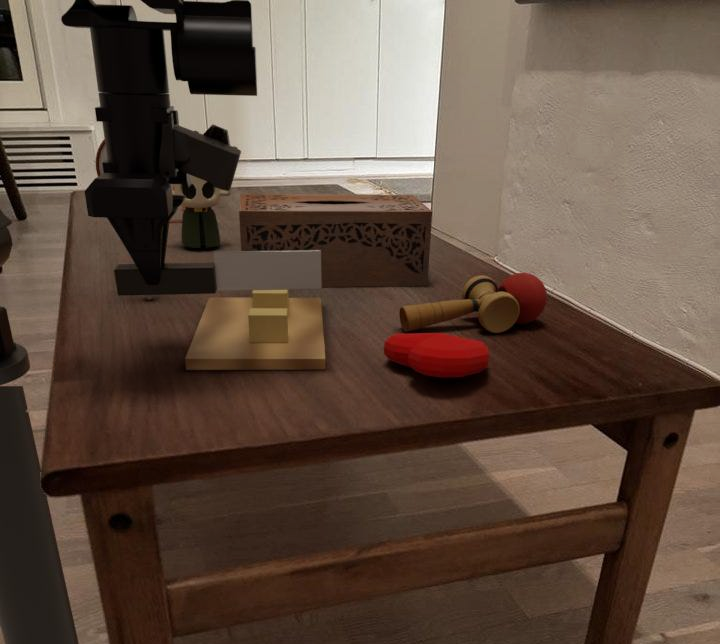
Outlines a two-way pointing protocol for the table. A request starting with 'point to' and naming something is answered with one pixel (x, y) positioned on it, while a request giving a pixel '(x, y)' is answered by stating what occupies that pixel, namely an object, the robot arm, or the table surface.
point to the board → (235, 352)
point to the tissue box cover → (344, 234)
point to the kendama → (484, 304)
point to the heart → (438, 354)
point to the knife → (228, 274)
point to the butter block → (270, 299)
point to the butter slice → (268, 325)
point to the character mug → (200, 213)
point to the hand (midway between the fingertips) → (155, 281)
